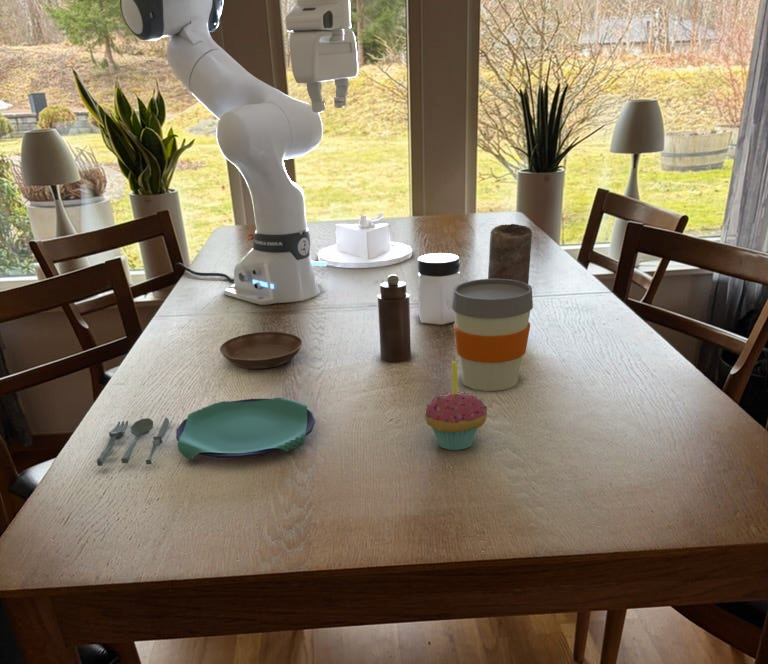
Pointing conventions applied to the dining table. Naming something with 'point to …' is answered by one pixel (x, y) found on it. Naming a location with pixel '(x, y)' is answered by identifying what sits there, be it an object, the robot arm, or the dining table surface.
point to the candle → (510, 252)
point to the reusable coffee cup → (491, 331)
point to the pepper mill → (394, 321)
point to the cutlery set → (228, 430)
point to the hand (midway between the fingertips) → (329, 109)
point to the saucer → (261, 349)
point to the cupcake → (455, 416)
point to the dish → (364, 246)
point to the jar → (437, 287)
